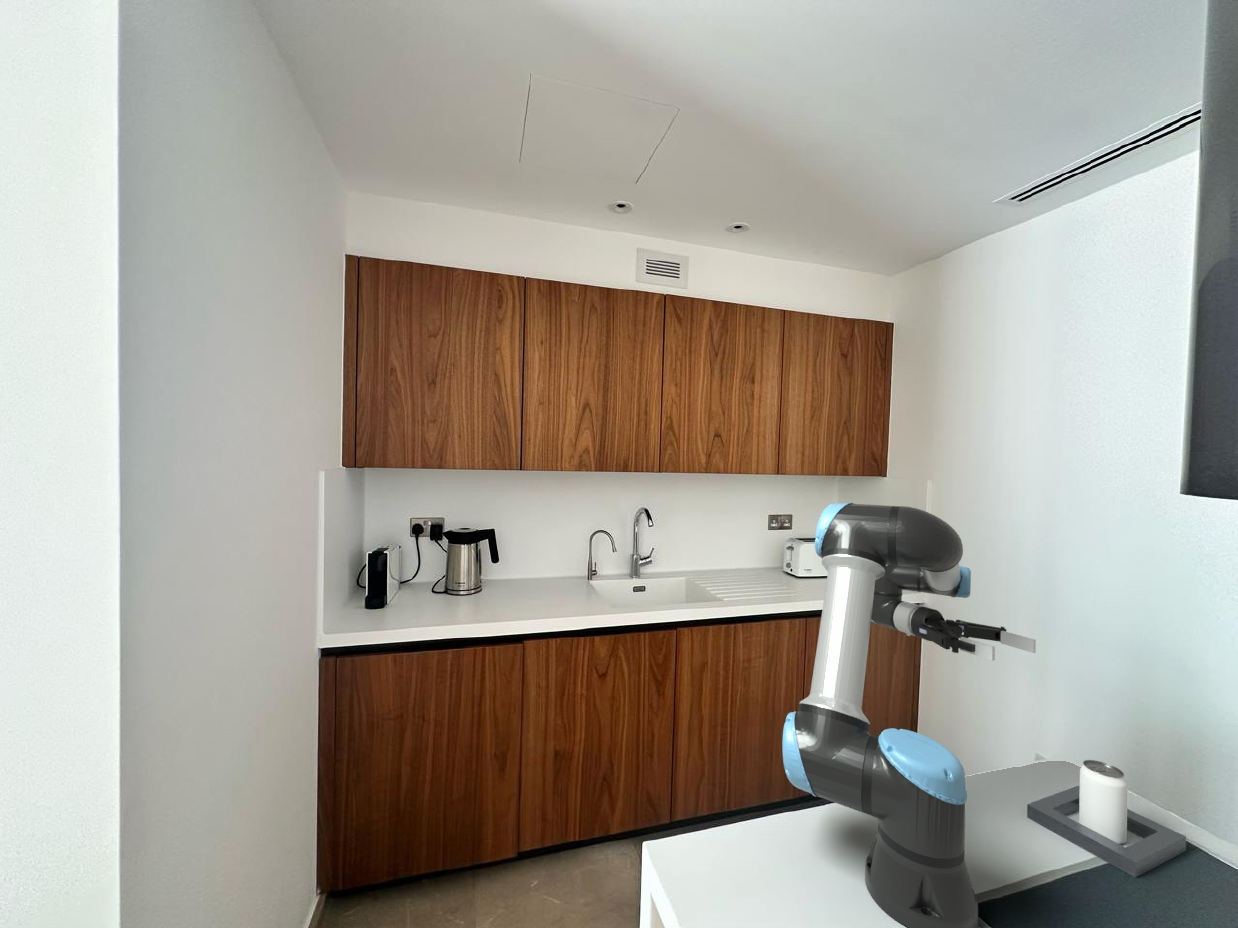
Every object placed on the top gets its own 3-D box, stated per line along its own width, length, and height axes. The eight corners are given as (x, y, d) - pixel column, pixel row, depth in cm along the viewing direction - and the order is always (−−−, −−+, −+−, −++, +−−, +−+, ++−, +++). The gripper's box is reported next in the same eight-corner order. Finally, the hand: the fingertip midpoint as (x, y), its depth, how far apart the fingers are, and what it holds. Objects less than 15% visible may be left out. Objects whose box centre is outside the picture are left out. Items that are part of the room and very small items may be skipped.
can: (1136, 848, 93) (1137, 780, 93) (1094, 842, 94) (1095, 775, 94) (1110, 824, 99) (1110, 760, 99) (1070, 819, 100) (1071, 756, 101)
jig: (1135, 877, 86) (1135, 862, 86) (1027, 817, 101) (1027, 804, 101) (1185, 850, 93) (1186, 836, 93) (1077, 797, 107) (1077, 785, 107)
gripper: (953, 631, 132) (1050, 660, 112) (882, 642, 122) (974, 675, 103) (954, 602, 132) (1050, 626, 113) (883, 610, 122) (975, 637, 103)
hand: (1014, 649), depth 108 cm, fingers open, 13 cm apart
